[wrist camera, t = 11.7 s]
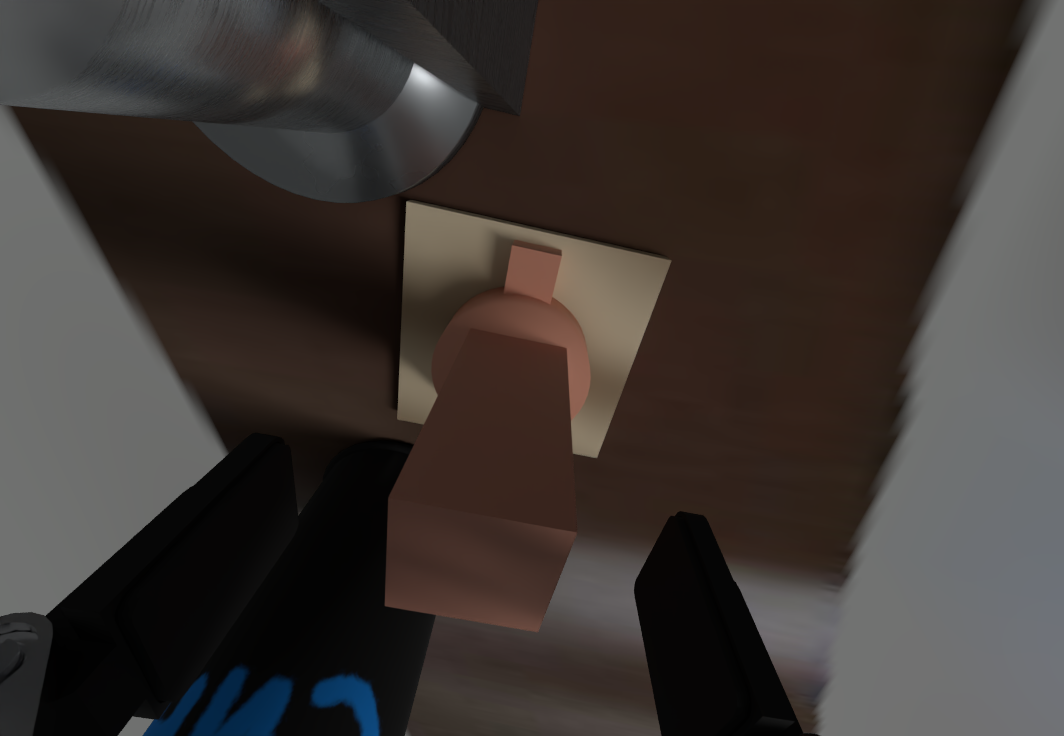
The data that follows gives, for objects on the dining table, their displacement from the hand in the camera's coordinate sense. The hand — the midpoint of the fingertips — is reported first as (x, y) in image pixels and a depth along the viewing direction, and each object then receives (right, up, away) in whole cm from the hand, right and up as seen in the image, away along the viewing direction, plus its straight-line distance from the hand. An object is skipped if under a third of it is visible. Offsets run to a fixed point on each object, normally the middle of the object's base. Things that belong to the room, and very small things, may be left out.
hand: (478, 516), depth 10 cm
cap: (+1, +4, +7) cm, 8 cm away
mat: (+1, +5, +8) cm, 9 cm away
